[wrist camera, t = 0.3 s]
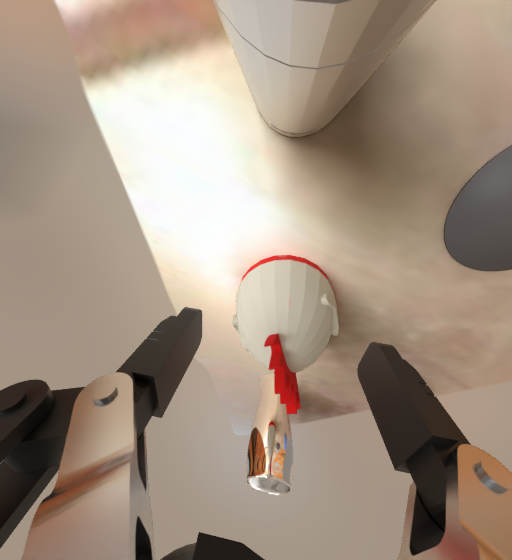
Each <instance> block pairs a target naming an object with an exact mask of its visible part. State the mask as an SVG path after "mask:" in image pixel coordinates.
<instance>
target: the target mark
mask: <svg viewBox="0 0 512 560" xmlns="http://www.w3.org/2000/svg"><path fill="white" fill-rule="evenodd" d="M444 241H445V244H446V248H447V250H448V251H449V253H450V254H451V256H452V257H453V258H454V259H455V260H456V261H458V262H459V263H461V264H463V265H464V266H467V267H469V268H472V269H477V270H483V271H501V270H509V269H512V145H511V146H510V147H508V148H507V149H505V150H504V151H502V152H500V153H499V154H498V155H497V156H495V157H494V158H493V159H491V160H490V161H489V162H487V163H486V164H485V165H484V166H483V167H482V168H481V169H480V170H478V171H477V173H476V174H475V175H474V176H473V177H472V178H471V179H470V180H469V181H468V182H467V183H466V185H465V186H464V187H463V188H462V190H461V191H460V193H459V194H458V196H457V197H456V199H455V200H454V202H453V204H452V206H451V208H450V210H449V213H448V215H447V218H446V222H445V227H444Z"/></svg>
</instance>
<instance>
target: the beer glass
mask: <svg viewBox="0 0 512 560" xmlns="http://www.w3.org/2000/svg"><path fill="white" fill-rule="evenodd" d="M292 442H293V441H292V433H291V426H290V420H289V415H288V414H287V410H286V404H280V394H275V392H274V373H270V374H265V375H263V376H262V377H261V378H260V380H259V402H258V406H257V410H256V413H255V417H254V420H253V424H252V428H251V432H250V438H249V444H248V453H247V466H246V478H245V483H246V484H247V486H249V487H250V488H252V489H254V490H256V491H258V492H262V493H266V494H271V495H286V494H290V493H291V492H292V490H293V489H292V480H293V443H292Z"/></svg>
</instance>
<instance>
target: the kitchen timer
mask: <svg viewBox="0 0 512 560" xmlns="http://www.w3.org/2000/svg"><path fill="white" fill-rule="evenodd" d="M233 326H234V327H235V328H236V330H237V332H238V334H239V337H240V341H241V344H242V346H243V348H244V349H245V350H246V351H249V352H250V353H251V355H252V356H253V357H254V358H255V359H256V361H258V362H259V363H260V364H261V365H263V366H264V367H265V368H267V369H269V370H271V371H273V372H274V392H275V394H280V404H286V410H287V414H297V409H300V408H301V406H300V399H299V392H298V385H297V379H296V372H299V371H301V370H304V369H305V368H307V367H308V366H310V365H311V364H313V363H314V362H315V361H316V360H317V358H318V357H319V356H320V355H321V354H322V352H323V351H324V350H325V348H326V346H327V344H328V342H329V339H330V336H331V335H334V336H338V334H339V326H338V314H337V304H336V301H335V296H334V292H333V289H332V287H331V285H330V282H329V280H328V278H327V276H326V274H325V273H324V272H323V271H322V270H321V269H320V268H319V267H318V266H317V265H315V264H314V263H312V262H310V261H308V260H306V259H305V258H300V257H296V256H292V255H281V256H273V257H270V258H266V259H263V260H261V261H259V262H258V263H256V264H255V265H253V266H252V267H251V268H250V269H249V270H248V271H247V273H246V274H245V275H244V276H243V278H242V281H241V283H240V286H239V289H238V292H237V295H236V315H234V316H233Z"/></svg>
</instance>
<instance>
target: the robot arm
mask: <svg viewBox="0 0 512 560" xmlns="http://www.w3.org/2000/svg"><path fill="white" fill-rule="evenodd" d="M435 1H436V0H213V2H214V5H215V7H216V10H217V12H218V14H219V17H220V19H221V22H222V24H223V27H224V29H225V31H226V34H227V36H228V39H229V41H230V44H231V46H232V48H233V51H234V53H235V56H236V58H237V60H238V63H239V65H240V68H241V70H242V73H243V75H244V77H245V80H246V82H247V85H248V87H249V90H250V92H251V95H252V97H253V99H254V101H255V104H256V106H257V108H258V111H259V113H260V115H261V116H262V118H263V119H264V121H265V122H266V123H267V124H268V125H269V126H270V127H271V128H272V129H273V130H275V131H276V132H278V133H280V134H282V135H285V136H289V137H303V136H307V135H311V134H313V133H315V132H317V131H319V130H321V129H322V128H323V127H324V126H326V125H327V124H328V123H329V122H331V121H332V119H333V118H334V117H335V116H336V115H337V114H338V113H339V112H340V110H341V109H342V108H343V107H344V106H345V105H346V104H347V103H348V102H349V101H350V99H351V98H352V97H353V96H354V95H355V94H356V92H357V91H358V90H359V89H360V88H361V87H362V86H363V84H364V83H365V82H366V81H367V80H368V79H369V77H370V76H371V75H372V74H373V73H374V72H375V71H376V69H377V68H378V67H379V66H380V65H381V64H382V62H383V61H384V60H385V59H386V58H387V57H388V56H389V54H390V53H391V52H392V51H393V50H394V49H395V48H396V46H397V45H398V44H399V43H400V42H401V41H402V39H403V38H404V37H405V36H406V35H407V34H408V33H409V31H410V30H411V29H412V28H413V27H414V26H415V24H416V23H417V22H418V21H419V20H420V19H421V18H422V16H423V15H424V14H425V13H426V12H427V11H428V10H429V8H430V7H431V6H432V5H433V4H434V3H435ZM201 338H202V311H201V310H199V309H193V308H188V307H185V308H184V309H183V310H182V311H181V312H180V313H179V315H178V316H177V317H176V316H170V317H169V318H167V319H165V320H163V321H162V322H161V323H160V324H159V325H158V326H157V327H156V328H155V329H154V331H153V332H152V333H151V334H150V335H149V336H148V337H147V339H145V340H144V342H143V343H142V344H141V345H140V346H139V347H138V348H137V349H136V350H135V352H134V353H133V354H132V355H131V356H130V357H129V358H128V359H127V360H126V362H125V363H124V364H123V365H122V366H121V367H120V368H119V369H118V370H117V371H116V372H115V373H110V374H106V375H104V376H101V377H99V378H97V379H95V380H94V381H92V382H91V383H90V384H88V385H87V386H86V387H81V388H71V389H63V390H53V391H51V390H50V388H49V386H48V385H47V383H46V382H44V381H42V380H28V381H24V382H20V383H17V384H14V385H11V386H9V387H7V388H5V389H3V390H1V391H0V463H1V462H2V461H3V462H2V463H1V464H0V548H1V547H2V546H3V544H4V543H5V541H6V540H7V539H8V537H9V536H10V535H11V533H12V532H13V530H14V529H15V528H16V527H17V525H18V524H19V523H20V521H21V520H22V519H23V517H24V516H25V514H26V513H27V512H28V510H29V509H30V508H31V506H32V505H33V503H34V502H35V501H36V500H37V498H38V497H39V495H40V494H41V493H42V492H43V490H44V489H45V487H46V486H47V485H48V483H49V482H50V481H51V479H52V478H53V477H54V475H55V474H56V473H57V471H58V470H59V472H58V477H57V481H56V484H55V487H54V489H53V491H52V493H51V494H50V495H49V496H48V497H46V498H45V499H44V500H43V501H42V502H41V504H40V505H39V507H38V509H37V511H36V513H35V515H34V518H33V521H32V523H31V526H30V530H29V533H28V537H27V541H26V544H25V548H24V551H23V555H22V559H21V560H155V547H154V531H153V519H152V510H151V503H150V496H149V484H148V468H147V467H148V466H147V449H146V432H145V427H146V425H147V424H148V422H149V420H150V419H151V417H152V416H155V417H160V418H162V416H163V414H164V412H165V410H166V408H167V406H168V405H169V403H170V401H171V399H172V397H173V395H174V393H175V391H176V389H177V387H178V386H179V384H180V382H181V380H182V378H183V376H184V374H185V372H186V370H187V368H188V366H189V365H190V363H191V361H192V359H193V357H194V355H195V353H196V351H197V349H198V347H199V345H200V342H201ZM358 378H359V380H360V383H361V385H362V388H363V391H364V393H365V396H366V398H367V401H368V403H369V406H370V408H371V411H372V413H373V416H374V418H375V421H376V423H377V426H378V428H379V431H380V433H381V436H382V438H383V441H384V443H385V446H386V449H387V451H388V453H389V456H390V459H391V461H392V464H393V466H394V468H395V470H397V471H401V472H406V473H410V474H411V476H412V478H413V481H414V482H413V483H412V484H411V485H410V490H409V495H408V503H407V509H406V516H405V523H404V529H403V537H402V543H401V549H400V553H399V556H398V558H397V560H512V473H511V472H510V471H509V470H508V469H507V468H506V467H505V466H504V465H502V463H501V462H499V461H498V460H497V459H496V458H494V457H493V456H491V455H490V454H489V453H487V452H485V451H484V450H482V449H480V448H478V447H476V446H473V445H471V444H470V443H469V442H468V440H467V439H466V438H465V436H464V435H463V433H462V432H461V431H460V429H459V428H458V427H457V425H456V424H455V422H454V421H453V420H452V419H451V417H450V416H449V414H448V413H447V412H446V410H445V409H444V407H443V406H442V405H441V403H440V402H439V401H438V399H437V398H436V397H434V394H433V392H432V391H431V390H430V388H429V387H428V386H426V383H425V381H424V380H423V379H422V377H421V376H420V374H419V373H418V372H417V371H416V370H415V369H414V368H413V367H412V366H411V365H410V364H409V363H408V362H407V361H405V360H404V359H402V357H401V356H400V355H399V353H398V352H397V350H396V349H395V348H394V347H393V346H392V345H387V344H382V343H376V342H372V343H371V344H370V345H369V347H368V348H367V350H366V352H365V354H364V356H363V357H362V359H361V361H360V363H359V365H358ZM161 560H264V559H263V558H261V557H260V556H259V555H257V554H256V553H255V552H253V551H252V550H251V549H249V548H248V547H247V546H245V545H244V544H243V543H240V542H236V541H232V540H228V539H224V538H220V537H216V536H212V535H208V534H204V533H200V532H199V534H198V538H197V542H196V543H194V544H189V545H186V546H184V547H181V548H179V549H176V550H174V551H173V552H171V553H170V554H168V555H167V556H165V557H163V558H162V559H161Z"/></svg>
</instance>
